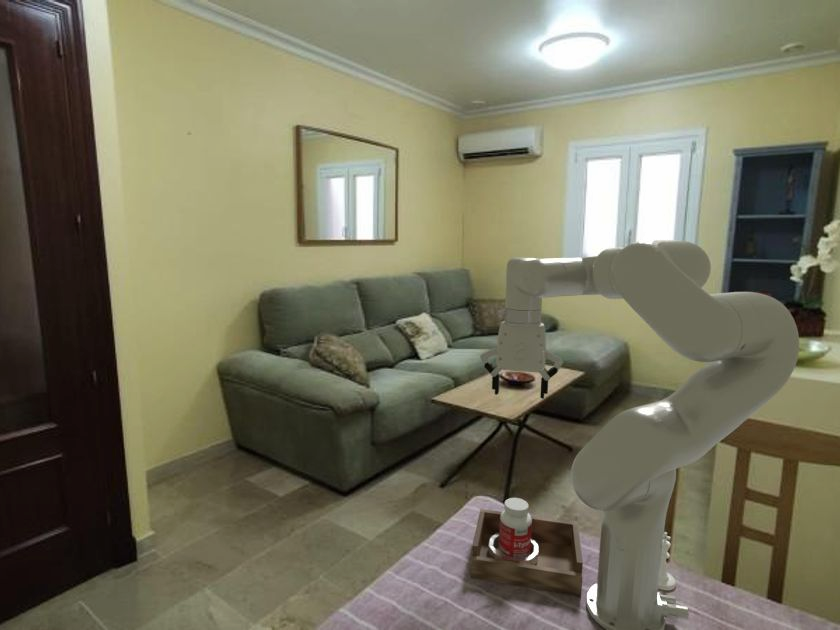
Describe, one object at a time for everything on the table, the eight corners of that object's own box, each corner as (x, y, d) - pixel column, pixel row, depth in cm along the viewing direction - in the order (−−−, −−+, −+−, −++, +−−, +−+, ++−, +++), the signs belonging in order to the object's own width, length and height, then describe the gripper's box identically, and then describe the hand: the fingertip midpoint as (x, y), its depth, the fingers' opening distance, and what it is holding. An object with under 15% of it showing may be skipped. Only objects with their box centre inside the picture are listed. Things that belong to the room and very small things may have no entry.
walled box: (575, 548, 101) (577, 522, 100) (581, 596, 88) (583, 566, 87) (479, 534, 106) (480, 508, 105) (470, 577, 92) (471, 548, 91)
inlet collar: (537, 543, 101) (538, 534, 101) (537, 574, 92) (538, 564, 91) (491, 536, 103) (491, 528, 103) (486, 565, 94) (487, 556, 94)
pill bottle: (514, 568, 93) (516, 516, 91) (492, 551, 98) (494, 501, 96) (536, 557, 97) (539, 506, 95) (514, 541, 102) (516, 492, 100)
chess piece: (674, 594, 88) (680, 544, 87) (645, 584, 91) (649, 535, 89) (676, 578, 93) (681, 530, 91) (647, 569, 95) (652, 522, 93)
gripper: (479, 317, 101) (477, 396, 103) (566, 321, 97) (561, 404, 99) (483, 312, 108) (481, 386, 110) (564, 315, 104) (560, 392, 106)
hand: (519, 394), depth 105 cm, fingers open, 9 cm apart
